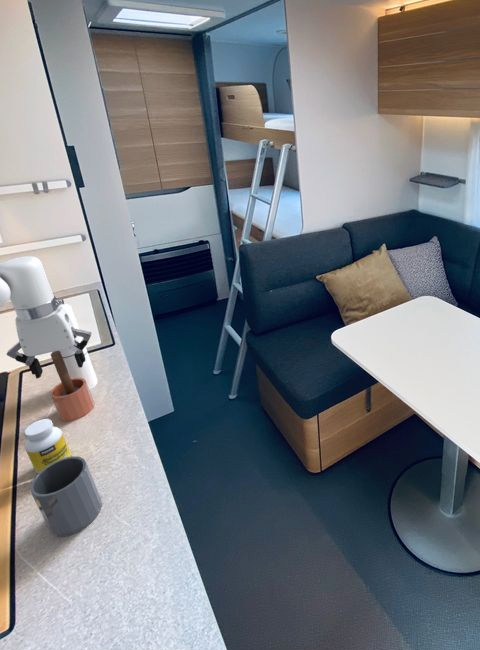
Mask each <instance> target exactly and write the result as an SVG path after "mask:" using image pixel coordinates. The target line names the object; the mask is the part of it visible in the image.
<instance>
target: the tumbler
mask: <svg viewBox="0 0 480 650" xmlns="http://www.w3.org/2000/svg"><path fill="white" fill-rule="evenodd" d="M29 490H30V491H29V492H30V493H31V496H32V498H33V501H34V502H35V504H36V506H37V507H38V509H39V511H40V513H41V516H42V518H43V519H44V521H45V523H46V526H47V527H48V529H49V531H50V533H51V534H52V535H53V536H56V537H60V538H61V537H69V536H72V535H75V534H77V533H79V532H81V531H83V530H84V529H85V528H87V527H88V526H89V525H90V524H92V523H93V522H94V520H95V519H96V518H97V517H98V516H99V514H100V512H101V510H102V506H103V502H102V498H101V496H100V493H99V491H98V488H97V486H96V483H95V480H94V478H93V476H92V473H91V471H90V468H89V466H88V464H87V461H86V459H85V458H83V457H81V456H77V455H75V456H72V455H71V457H67V458H63V459H60V460H58V461H56V462H54V463H52V464H50V465H49V466H47V467H45V468H44V469H43V470H42V471H41V472H40V473H38V474H37V473H36V476H35V477H34V478H33V479H32V481H31V483H30V486H29Z"/></svg>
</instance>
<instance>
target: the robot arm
mask: <svg viewBox="0 0 480 650" xmlns="http://www.w3.org/2000/svg"><path fill="white" fill-rule="evenodd" d="M9 301H10V302H11V305H12V307H13V310H14V312H15V314H16V317H15V320H14V321H15V328H16V334H17V338H18V342H17V343H15V344H14V345H13V346H12V347H10V348H9V349H8V350H7V352H6V356H7V357H10V358H11V359H14V360H15V361H16V362H19V363H22V364H24V365H25V366H26V367H28V368H29V370H30V372H31V374H32V375H34V376H35V379H40V378H41V377H42V374H43V368H42V365H41V363H40V360H39V358H37V356H42V355H46V354H49V353H50V354H51V353H52V352H54V351H58V350H63V349H66V348H69V349H70V350H72V351H74V352H75V354H74V356H75V359H76V362H77V364H78V367H80V368H81V367H82V366H83V362H85V356H84V353H83V349H84V348H85V347H87V345H88V343H89V342H90V339H91V337H92V332H91V331H88V330H84V329H80V328H79V329H75V328H74V326H73V324H72V322H71V320H70V318H69V316H68V314H67V313H66V311H65V310H64V308H63V307H62V306H60V305H63V304H65V301H64V299H63V298H56V296H54V292H53V290H52V287H51V285H50V282H49V279H48V277H47V273H46V271H45V267H44V265H43V263H42V261H41V259H39V258H38V257H37V256H33V255H32V256H31V255H29V256H27V255H26V256H25V255H24V256H19V257H14V258H11V259H8V260H5V261H3V262H0V309H1V308H3V307H4V306H6V304H8V302H9ZM77 336H80V337H82V338H83V340H82V341H81V342H80V343H79V342H77V341H76V340H74V339H75V338H77ZM20 350H22V352H23V353H22V352H19V351H20Z"/></svg>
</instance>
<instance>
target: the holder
mask: <svg viewBox="0 0 480 650" xmlns="http://www.w3.org/2000/svg"><path fill="white" fill-rule="evenodd" d="M71 380H72V383H73V385H74V387H79V388H80V389H78V390H77V391H75V392H73V393H71V394H69V395H65V396H61V394H62V393H63V392H64V391H65V390H64V387H63V385H62V382H61V381H60V382H59V383H58V384H57V385H55V386H54V387H53V388H52V389H50V392H49V396H50V399H51V401H52V403H53V406H54V408H55V411H56V413H57V415H58V417H59V419H60V421H62V422H73V421H76V420H79V419H82V418H84V417H85V416H87V415H88V414H89V413H91V412H92V410H93V409H94V408H95V401H94V399H93V397H92V393H91V391H90V390H91V389H90V390H89V387H88V385H87V382H86V380H85V379H83V378H73V379H71Z"/></svg>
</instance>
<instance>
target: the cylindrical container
mask: <svg viewBox="0 0 480 650" xmlns="http://www.w3.org/2000/svg"><path fill="white" fill-rule="evenodd" d="M60 306H62V307H63V308H64V310H65V311H66V313H67V314H68V316H69V318H70V320H71V322H72V324H73V326H74V328H75V329H80V328H79V324H78V322H77V319H76V317H75V316H76V315H75V314H74V311H73V308H72V305H70V304H69V303H64V304H63V305H60ZM74 340H76V341H77V342H79V343H80V342H81V341H82V340H83V337H80V336H77V338H75V339H74ZM58 351H60V352H61V354H62V357H63V360H64V362H65V365H66V367H67V370H68V373H69V375H70V378H71V379H73V378H83V379H85V380H86V382H87V385H88V387H89V390H92V389H94V387H96V385H97V384H98V378H97V374H96V371H95V369H94V367H93V364H92V361H91V358H90V356H89V352H88V350H87V346H85V348H84V349H83V353H84V356H85V362H83V366H82V367H81V368H80V367H78V364H77V362H76V359H75V356H74V354H75V352H74V351H72V350H70V349H69V348H66V349H63V350H58ZM54 352H55V351H54ZM51 353H53V352H51Z"/></svg>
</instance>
